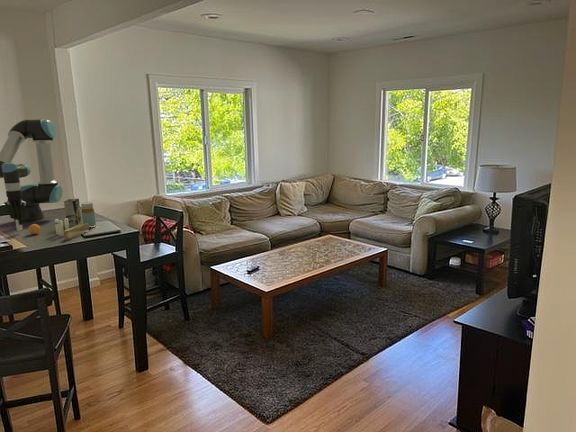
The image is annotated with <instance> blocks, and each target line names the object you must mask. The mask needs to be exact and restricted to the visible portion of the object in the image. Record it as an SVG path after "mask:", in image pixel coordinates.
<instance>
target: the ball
mask: <svg viewBox="0 0 576 432" xmlns="http://www.w3.org/2000/svg"><path fill="white" fill-rule="evenodd" d="M28 232H29V233H30V234H31V235H37V234H39V233H40V232H41V226H40V225H39V224H36V223H33V224H30V225H29V226H28Z"/></svg>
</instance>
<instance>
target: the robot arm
mask: <svg viewBox="0 0 576 432" xmlns="http://www.w3.org/2000/svg"><path fill="white" fill-rule="evenodd" d="M7 136H8V137H7V138H6V141H5V143H4V144H3V146H2V149H1V150H0V179H3V182H4V188H5V194H6V195H5V196H6V198H7V201H5V202H4V205H5V207H6V209H7V211H8V215H9V217H10V218H11V219H12V220H13V221H14V224H15V226H16V231H17V232H19V231H23V230H24V229H23V224H24V222H33V221H34V220H35V221H38V220H42V219H44V218H45V214H44V212H43V210H42V209H41V207H40V206H41V205H40V204H56V203H59V202H60V201H61V200H62V198H63V193H64V192H63V187H62V185H60V184H59V182H58V181H57V180H56V177H55V171H54V170H55V168H54V159H53V151H52V143H53V141H54V138H56V136H57V130H56V127H55V124H54V123H53V121H51V120H50V119H43V118H42V119H23V120H20V121H18V122H17V123H16V124H15V125H13V126H12V127H11V129H9V131H8V134H7ZM27 139H31V140H32V141H33V143H34V144H35V147H36V148H35V149H36V157H37V166H38V167H37V168H38V175H39V181H38V183H29V184H23V185H21V181H20V179H21V178H25V177H28V176H29V175H30V174H31V172H32V171H31V170H32V169H31V167H30V166H29V165H28V164H26V163H19V164H17V162H13V160H14V158H15V156H16V154H17V152H18V150H19V148H20V146H21V144H23V143H24V142H25V141H26V140H27Z"/></svg>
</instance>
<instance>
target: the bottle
mask: <svg viewBox="0 0 576 432" xmlns="http://www.w3.org/2000/svg"><path fill="white" fill-rule="evenodd" d="M93 204H94V203H93V202H91V201H89V202H82V203H81V219H82V223H88V225H89V226H94V225H96V226H97V223H96V222H97V221H96V213H95V210H94V205H93Z"/></svg>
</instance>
